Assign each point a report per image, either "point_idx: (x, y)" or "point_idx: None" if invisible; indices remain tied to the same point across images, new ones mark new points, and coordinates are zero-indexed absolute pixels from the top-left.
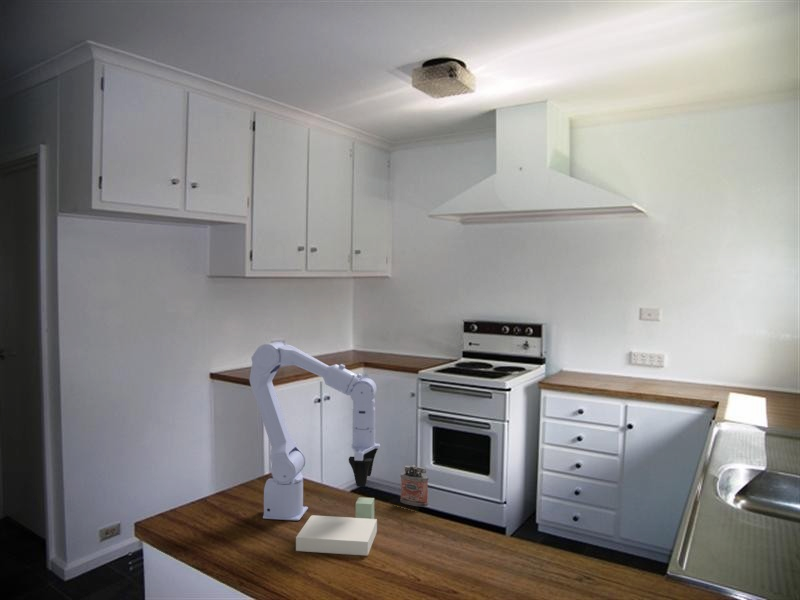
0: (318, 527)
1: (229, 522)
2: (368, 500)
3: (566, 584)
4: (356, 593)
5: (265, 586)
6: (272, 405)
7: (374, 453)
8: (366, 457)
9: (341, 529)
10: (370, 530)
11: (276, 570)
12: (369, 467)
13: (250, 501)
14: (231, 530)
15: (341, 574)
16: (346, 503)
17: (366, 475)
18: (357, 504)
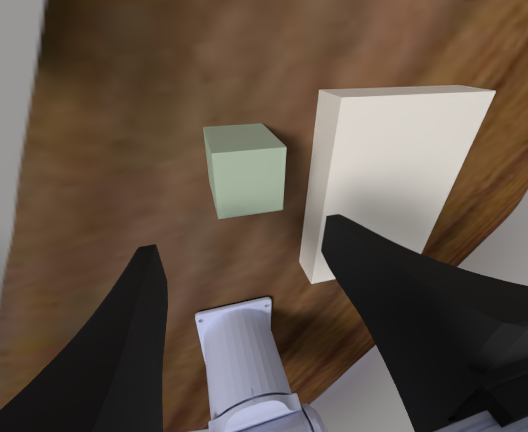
0: None
1: (285, 365)
2: (245, 171)
3: None
4: None
5: (492, 231)
6: None
7: (105, 412)
8: (145, 395)
9: (401, 189)
10: (426, 100)
11: (454, 238)
12: (148, 294)
13: (190, 394)
14: (314, 349)
15: (511, 127)
16: (110, 252)
17: (397, 245)
18: (282, 200)
